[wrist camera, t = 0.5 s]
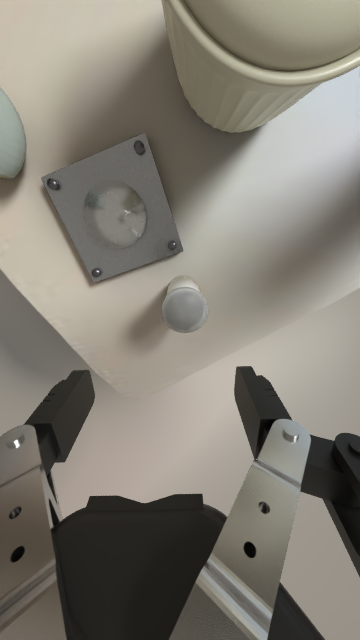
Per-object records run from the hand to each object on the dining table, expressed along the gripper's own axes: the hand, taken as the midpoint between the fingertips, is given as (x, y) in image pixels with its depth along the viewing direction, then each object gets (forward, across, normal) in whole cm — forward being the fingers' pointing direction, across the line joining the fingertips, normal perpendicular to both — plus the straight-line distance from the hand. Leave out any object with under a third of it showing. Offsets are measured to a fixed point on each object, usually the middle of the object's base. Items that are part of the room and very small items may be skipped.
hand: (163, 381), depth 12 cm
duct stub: (+24, -2, +2) cm, 24 cm away
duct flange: (+24, +7, -9) cm, 27 cm away
